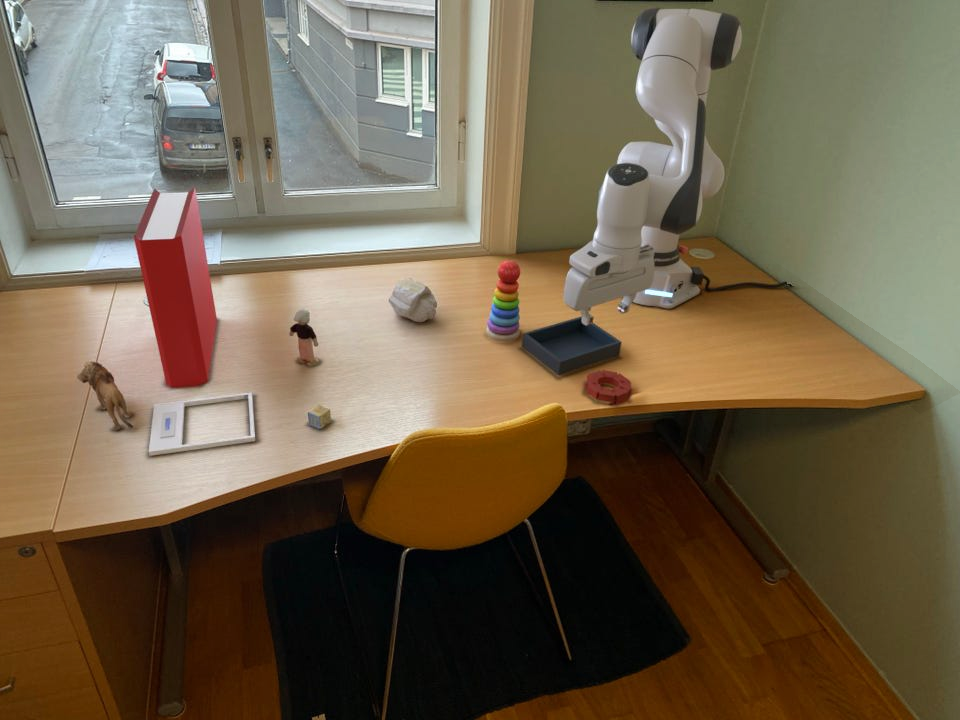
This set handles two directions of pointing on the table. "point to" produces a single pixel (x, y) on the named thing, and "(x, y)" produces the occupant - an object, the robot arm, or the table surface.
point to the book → (178, 286)
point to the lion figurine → (105, 391)
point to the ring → (605, 394)
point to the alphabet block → (319, 417)
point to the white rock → (413, 300)
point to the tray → (570, 345)
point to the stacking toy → (505, 304)
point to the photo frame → (171, 422)
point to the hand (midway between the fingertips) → (605, 317)
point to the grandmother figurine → (304, 337)
